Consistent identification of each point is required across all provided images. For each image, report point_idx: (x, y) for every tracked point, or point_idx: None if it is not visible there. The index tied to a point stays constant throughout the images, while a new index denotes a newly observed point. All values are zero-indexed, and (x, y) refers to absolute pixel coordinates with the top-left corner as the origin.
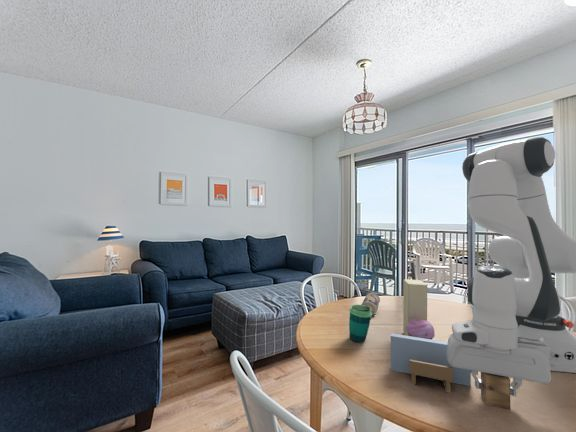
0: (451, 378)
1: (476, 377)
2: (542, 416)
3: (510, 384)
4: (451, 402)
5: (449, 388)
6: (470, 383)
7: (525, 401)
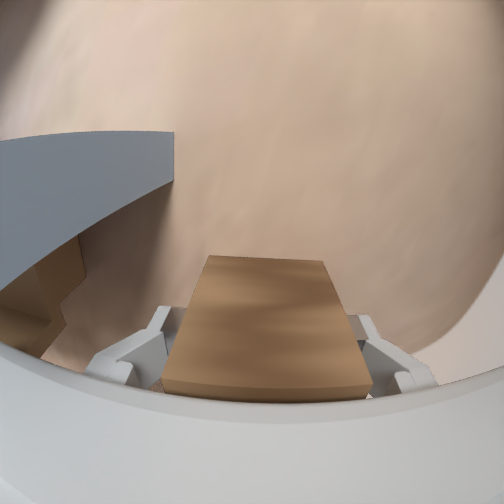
0: (53, 333)
1: (145, 389)
2: (408, 320)
3: (367, 340)
4: (99, 337)
5: (75, 285)
6: (166, 181)
7: (412, 237)
